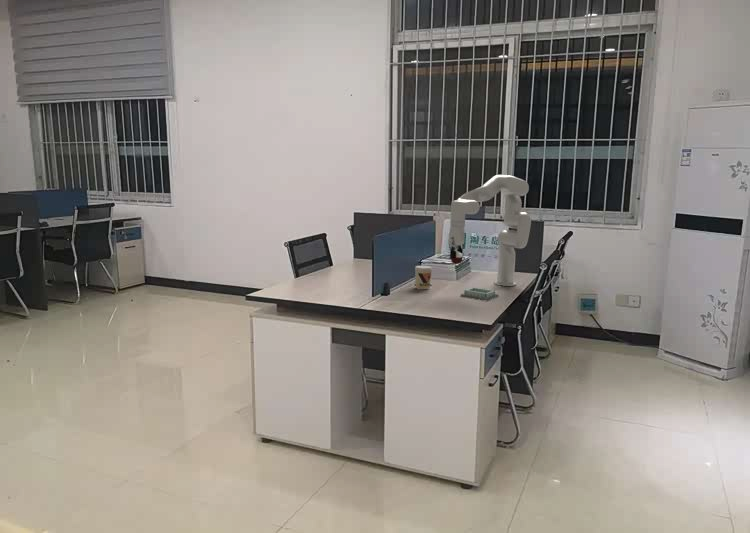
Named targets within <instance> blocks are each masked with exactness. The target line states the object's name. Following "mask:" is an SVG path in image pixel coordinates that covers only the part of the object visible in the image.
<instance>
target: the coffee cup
mask: <svg viewBox="0 0 750 533" xmlns="http://www.w3.org/2000/svg"><path fill="white" fill-rule="evenodd" d="M432 270H433V267H432V266H430V265H415V268H414V272H415V273H414V274H415V276H414V278H415V279H414V280H415V281H414V282H415V289H416V288H417V290H420V289H428V290H430V289H429V288H431V280H432Z"/></svg>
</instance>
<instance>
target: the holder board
mask: <svg viewBox="0 0 750 533" xmlns="http://www.w3.org/2000/svg"><path fill="white" fill-rule="evenodd" d="M497 296H498V297H499V296H500V295H499V293H496V290H492V289H487V288H486V289H485V288H482V287H481V288H480V287H474V286H473V287H470V288H467V289H464V291H463V293H461V294H460V297H462V298H466V297H467V298H468V299H472V298H474V299H473V300H478V299H480V300H479V301H484V300H488V301H490V299H491V300H493V299H495V297H496V298H498V297H497ZM467 298H466V299H467ZM492 298H493V299H492Z"/></svg>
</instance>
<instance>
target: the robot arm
mask: <svg viewBox="0 0 750 533" xmlns="http://www.w3.org/2000/svg"><path fill="white" fill-rule="evenodd" d="M529 190H530V186H529V183H528V182H527V181H526V180H524V179H522V178H518V177H516V176H513V175H507V174H505V175H504V174H496V175H494V176H492V177H491V178H490V179H489V180H487V181H486V182H485V183H484V184H482V185H481V186H480V187H477V188H475V189H472V190H470V191H467V192H465V193H464V194H462V195H461V196H460V197H458V198H457V199H456V200H452V201H451V207H450V208H451V209H450V228H449V233H448V242H447V243H448V247H449V251H450V254H449V258H450V259H451V258H454V259H456V251H458V252H460V253H462V254H463V252H464V251H463V249H464V245H465V237H466V236H465V227H466V214H467V215H475V214H477V213H479V211H480V208H481V206H480V203H482V202H487V201H490V200H491V199H492V198H494V197H495V196H496V195H497V194H499V193H500V192H502V195H503V196H504V198H505V201H506V204H505V211H504V216H503V225H504V227H507V228H510V229H503V230H501V231H499V233H498V236H497V242H498V243H497V244H498V258H497V259H498V260H497V274H496V275H497V276H496V280H494V281H493V284H494V285H496V286H497V285H498V286H501V285H502V286H504V287H513V286H514V287H515V286H516V285H517V282H516V281H515V279H516V276H515V268H516V267H515V266H516V250H515V249H523V248H526V246H527V244H528V242H529V237H530V231H531V225H532V219H531V218H532V217H531V216H530V214H529V213H527V212H522V204H523V203H522V199H521V197H524V196H525V195H527V194H528V192H529ZM511 229H512V230H511ZM513 229H516V230H513ZM463 255H464V254H463Z"/></svg>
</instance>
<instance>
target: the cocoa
mask: <svg viewBox="0 0 750 533" xmlns="http://www.w3.org/2000/svg"><path fill="white" fill-rule="evenodd" d="M463 255H464V254H462V253H460V252H458V251H457V250H456V259H454V258H450V261H451V263H452V264H454V265H457V264H461V263H463V262H464V261H465V259H466V257H465V256H463Z"/></svg>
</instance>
